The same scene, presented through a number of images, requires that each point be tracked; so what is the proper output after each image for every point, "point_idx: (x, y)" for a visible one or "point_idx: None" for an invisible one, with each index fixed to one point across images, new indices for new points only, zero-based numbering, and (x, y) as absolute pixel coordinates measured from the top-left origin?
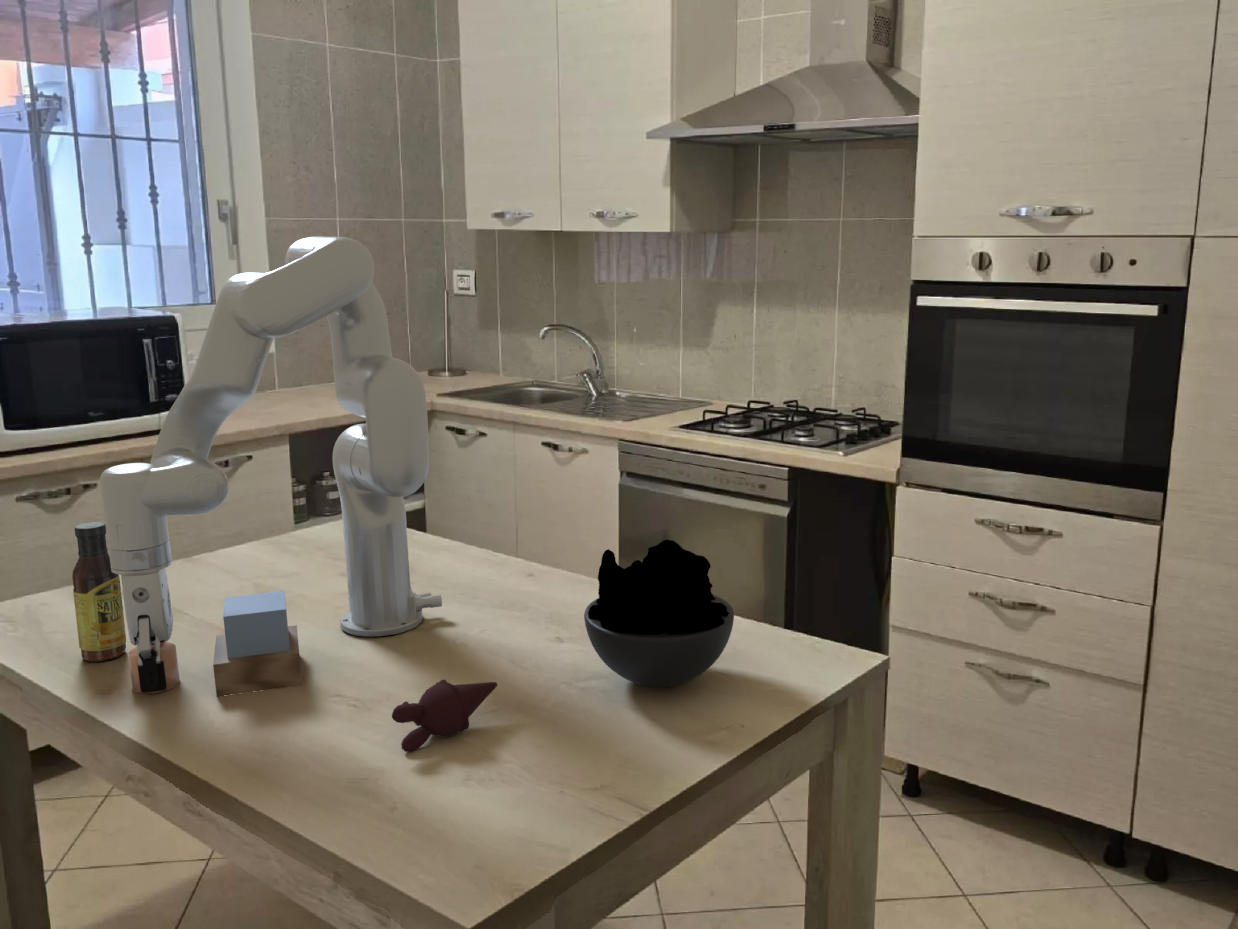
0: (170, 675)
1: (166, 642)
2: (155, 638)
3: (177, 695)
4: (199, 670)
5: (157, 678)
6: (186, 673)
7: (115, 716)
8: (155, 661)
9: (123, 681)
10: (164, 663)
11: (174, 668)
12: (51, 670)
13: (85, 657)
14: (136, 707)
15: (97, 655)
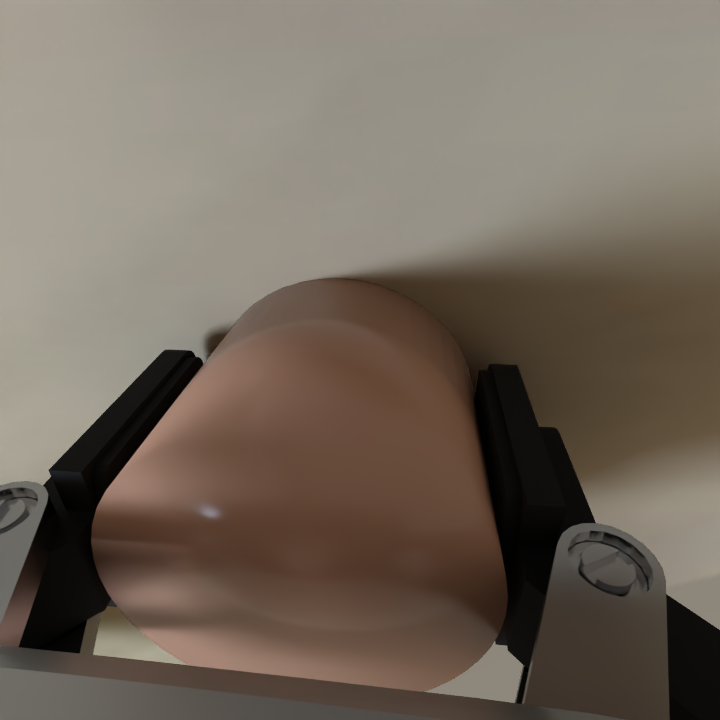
0: (446, 366)
1: (112, 500)
2: (50, 589)
3: (589, 286)
4: (178, 147)
5: (568, 462)
6: (216, 239)
7: (683, 552)
8: (686, 610)
9: None
10: (472, 467)
11: (404, 355)
12: None
13: None
14: (630, 481)
15: None
